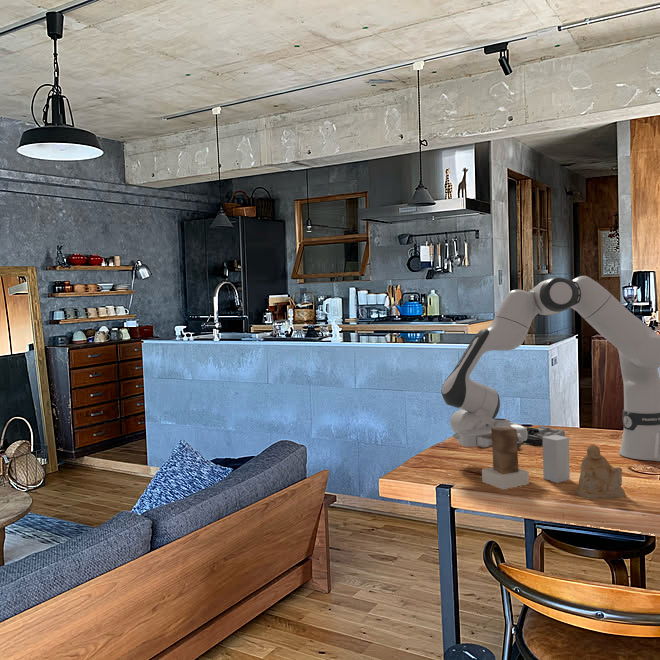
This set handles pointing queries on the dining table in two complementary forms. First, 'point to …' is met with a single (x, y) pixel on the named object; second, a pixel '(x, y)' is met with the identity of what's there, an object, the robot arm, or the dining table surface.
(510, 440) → the walnut block
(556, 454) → the grey block
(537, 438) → the toy gun
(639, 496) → the dining table surface
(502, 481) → the cream base
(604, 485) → the statue
